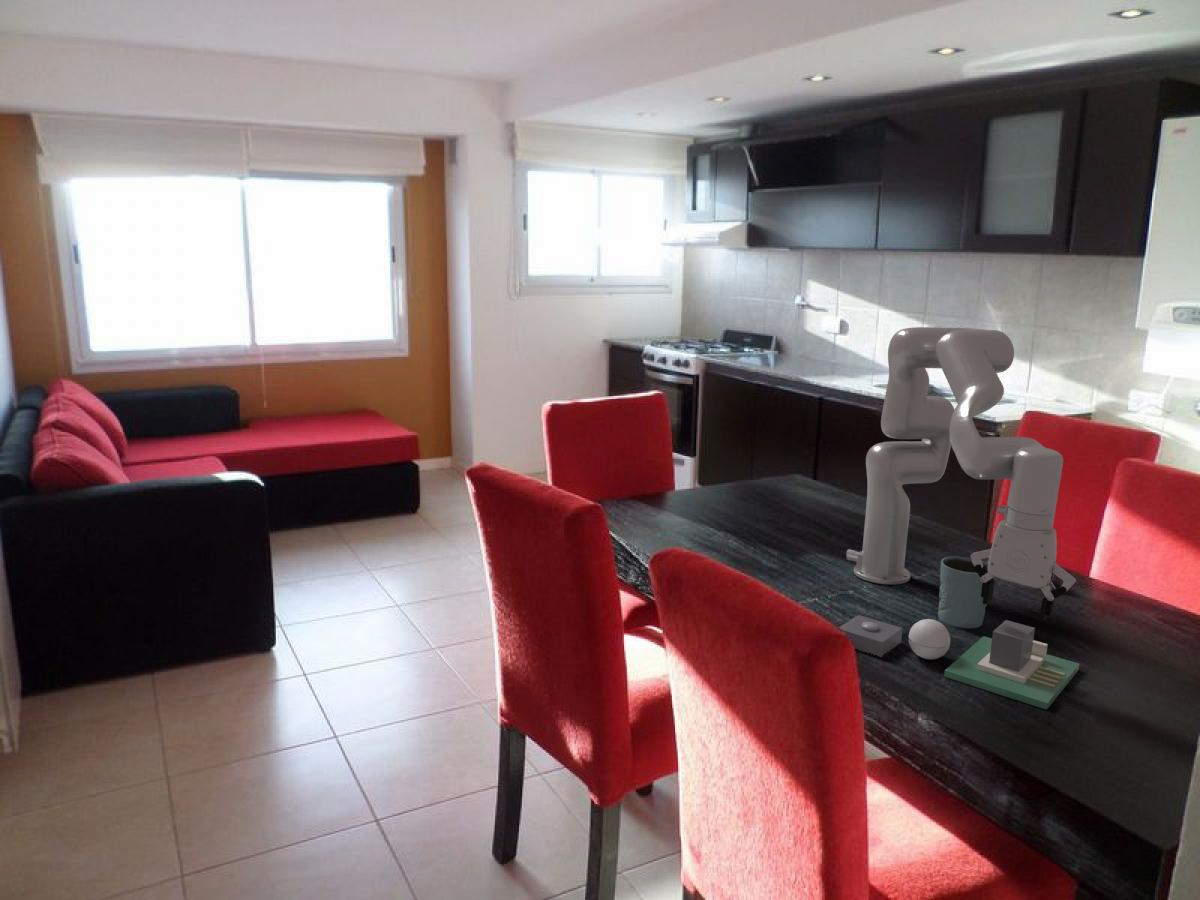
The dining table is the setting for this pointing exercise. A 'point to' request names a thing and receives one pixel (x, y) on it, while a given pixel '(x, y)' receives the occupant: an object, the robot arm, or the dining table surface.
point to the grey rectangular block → (1011, 645)
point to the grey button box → (872, 635)
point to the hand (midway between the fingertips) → (1014, 610)
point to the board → (1015, 674)
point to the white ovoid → (929, 639)
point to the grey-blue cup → (961, 593)
